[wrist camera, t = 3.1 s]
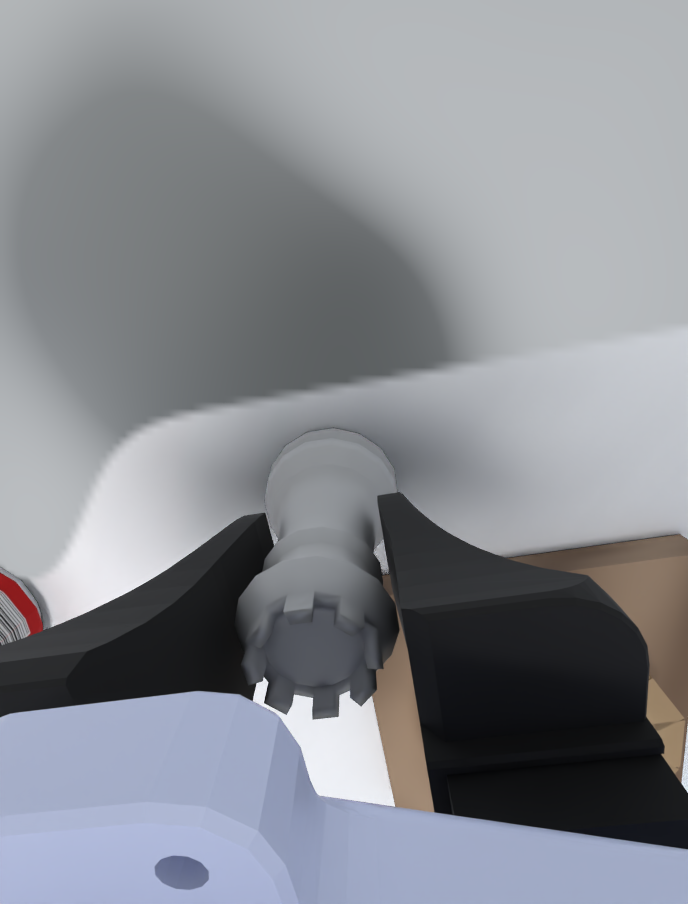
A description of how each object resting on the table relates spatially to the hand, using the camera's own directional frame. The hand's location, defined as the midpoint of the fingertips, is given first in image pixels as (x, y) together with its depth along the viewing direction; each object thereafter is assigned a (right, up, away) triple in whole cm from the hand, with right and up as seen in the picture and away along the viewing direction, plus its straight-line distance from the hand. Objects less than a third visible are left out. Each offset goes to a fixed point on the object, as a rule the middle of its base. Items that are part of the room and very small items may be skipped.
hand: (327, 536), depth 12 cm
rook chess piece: (0, +1, +3) cm, 4 cm away
